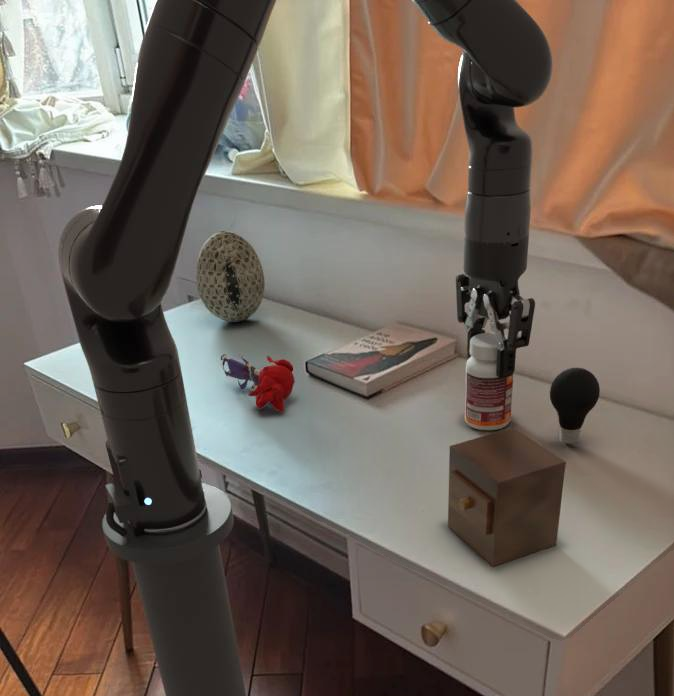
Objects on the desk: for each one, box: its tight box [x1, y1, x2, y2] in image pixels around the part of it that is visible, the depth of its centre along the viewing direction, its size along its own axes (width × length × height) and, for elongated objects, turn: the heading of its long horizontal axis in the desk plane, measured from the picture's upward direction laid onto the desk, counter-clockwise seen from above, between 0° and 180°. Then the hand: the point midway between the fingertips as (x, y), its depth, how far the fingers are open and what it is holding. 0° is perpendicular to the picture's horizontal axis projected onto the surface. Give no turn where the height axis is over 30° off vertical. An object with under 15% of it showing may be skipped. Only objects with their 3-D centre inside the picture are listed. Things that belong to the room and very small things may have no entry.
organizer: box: [447, 427, 567, 567], centre depth 89 cm, size 9×9×10 cm
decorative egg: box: [195, 230, 266, 323], centre depth 148 cm, size 12×12×15 cm
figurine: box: [220, 354, 296, 413], centre depth 123 cm, size 6×8×15 cm
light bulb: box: [549, 367, 601, 446], centre depth 105 cm, size 6×6×10 cm
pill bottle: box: [464, 332, 514, 431], centre depth 111 cm, size 6×6×11 cm
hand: (489, 367), depth 110 cm, fingers closed on pill bottle, 6 cm apart
